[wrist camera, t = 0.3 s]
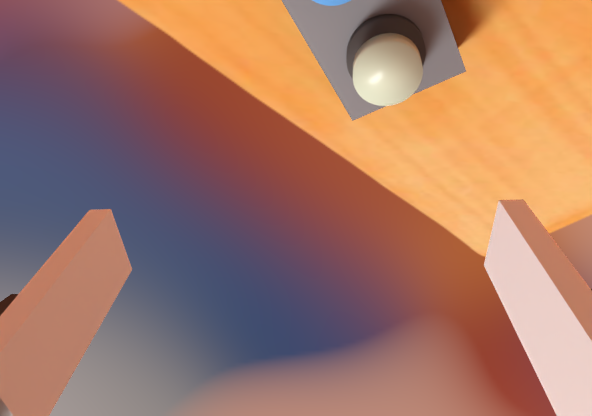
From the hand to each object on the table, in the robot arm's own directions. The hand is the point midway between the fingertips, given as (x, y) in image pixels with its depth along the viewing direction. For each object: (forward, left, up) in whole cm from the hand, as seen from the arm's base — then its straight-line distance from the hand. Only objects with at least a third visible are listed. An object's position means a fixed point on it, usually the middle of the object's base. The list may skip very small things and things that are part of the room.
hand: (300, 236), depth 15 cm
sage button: (-2, +6, -21) cm, 22 cm away
